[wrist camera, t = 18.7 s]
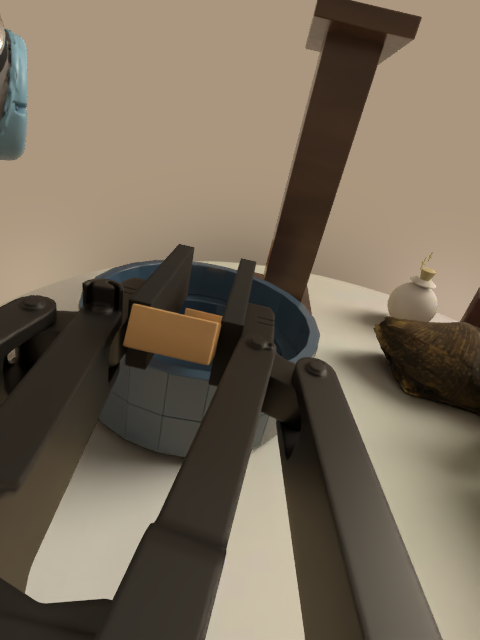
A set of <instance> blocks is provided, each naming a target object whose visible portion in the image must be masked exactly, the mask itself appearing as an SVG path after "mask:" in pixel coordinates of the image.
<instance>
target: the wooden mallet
mask: <svg viewBox="0 0 480 640" xmlns="http://www.w3.org/2000/svg"><path fill="white" fill-rule="evenodd" d="M222 317H223V316H219V315H215V314H210V313H206V312H202V311H197V310H193V309H189V308H186V309H185V314H184V315H182V314H178V313H174V312H169V311H165V310H161V309H156V308H152V307H148V306H143V305H139V304H133V305H132V309H131V313H130V318H129V322H128V326H127V330H126V334H125V339H124V343H123V346H125V347H129V348H133V349H137V350H142V351H146V352H151V353H155V354H159V355H164V356H168V357H172V358H177V359H181V360H185V361H190V362H194V363H198V364H203V365H209V364H210V362H211V361H212V360H213V358H214V357H215V354H216V349H217V345H218V340H219V335H220V330H221V320H222Z"/></svg>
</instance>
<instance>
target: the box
mask: <svg viewBox="0 0 480 640" xmlns="http://www.w3.org/2000/svg"><path fill="white" fill-rule="evenodd" d="M460 322H466V323H469V324H471V325H473V326H475V327H478V328H480V287H479V289H478V291H477V293H476V294H475V296H474V298H473V300H472V302H471V303H470V305H469V307H468V309H467V310H466V312H465V314H464V316H463V317H462V319H461V321H460Z"/></svg>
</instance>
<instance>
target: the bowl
mask: <svg viewBox="0 0 480 640" xmlns="http://www.w3.org/2000/svg"><path fill="white" fill-rule="evenodd" d="M163 261H164V260H154V261H145V262H136V263H131V264H127V265H123V266H119V267H116V268H112V269H110V270H108V271H106V272H104V273H102V274H100V275H98V276H96V277H95V278H94V279H101V278H102V279H110V280H114V281H117V282H119V283H122V282H123V281H124V280H127V279H130V278H133V277H136V278H140V279H145V280H147V279H148V278H149V277H150V276H151V274H152V273H153V272H154V271H155V270H156V269H157V268H158V267H159V266H160V265H161V263H162V262H163ZM236 273H237V270H234V269H231V268H227V267H222V266H217V265H212V264H207V263H201V262H192V267H191V274H190V281H189V288H188V294H187V298H186V300H185V301H184V303H183V305H182V307H181V308H180V310H179V312H178V314H182V315H184V314H185V309H186V308H189V309H193V310H197V311H202V312H206V313H210V314H215V315H219V316H223V314H224V311H225V308H226V305H227V301H228V298H229V295H230V292H231V289H232V286H233V283H234V280H235V276H236ZM248 303H252V304H256V305H261V306H265V307H269V308H271V309H272V311H273V312H274V314H275V321H274V322H275V323H274V344H275V345H276V349H277V350H276V352H277V353H278V354H279V355H280V356H282V357H283V358H285V359H287V360H288V361H291V362H293V363H295V364H296V362H297V361H298V360H299V359H300V358H304V357H312V358H314V357H315V354H316V352H317V348H318V343H319V337H320V333H319V330H318V327H317V324H316V321H315V319H314V317H313V316H312V315H311V314H310V312H309V311H308V310H307V309H306V307H305V306H304V305H303V304H302V303H300V302H299V301H298V300H297V299H295V298H294V297H293V296H292V295H290V294H289V293H287V292H285V291H284V290H282V289H280V288H278V287H277V286H275V285H273V284H271V283H270V282H267V281H265V280H262V279H260V278H258V277H255V276H253V281H252V286H251V291H250V296H249V302H248ZM82 306H83V291H82V295H81V298H80V301H79V305H78V310H79V309H80V308H81V307H82ZM125 355H126V353H125ZM125 355H124V356H123V358H122V359H121V360H120V372H119V374H118V376H117V379H116V381H115V383H114V385H113V387H112V390H111V392H110V394H109V396H108V398H107V401H106V403H105V405H104V407H103V409H102V412H101V414H100V416H99V418H98V419H99V420H100V421H101V422H102V423H103V424H105V425H106V426H107V427H109V428H110V429H111V430H113V431H114V432H116V433H117V434H118V435H120V436H121V437H122V438H124V439H125V440H127V441H130V442H132V443H135V444H137V445H140V446H142V447H145V448H147V449H150V450H152V451H155V452H158V453H163V454H169V455H176V456H182V457H186V455H187V452H188V450H189V448H190V446H191V444H192V442H193V439H194V437H195V435H196V433H197V431H198V428H199V426H200V424H201V422H202V420H203V418H204V415H205V413H206V411H207V409H208V407H209V404H210V402H211V400H212V398H213V396H214V394H215V391H216V389H217V386H213V385H209V384H208V383H209V378H210V373H211V368H212V364H213V360H212V361H211V362H210V364H209V365H203V364H198V363H194V362H190V361H185V360H181V359H177V358H172V357H168V356H164V355H159V354H154V355H153V357H152V359H151V361H150V362H149V364H148V366H147V368H146V369H145V370H143V369H139V368H135V367H130V366H126V365H125ZM213 359H214V358H213ZM276 421H277V420H276V419H274V418H272V417H270V416H268V415H266V414H264V413H262V412H261V413H260V417H259V421H258V425H257V429H256V433H255V437H254V441H253V445H252V449H253V448H256V447H258V446H261V445H262V444H264V443H265V442H267V441H268V440H270V439H271V438H273V437H274V436H276V435H277V428H276Z"/></svg>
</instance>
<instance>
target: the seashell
mask: <svg viewBox="0 0 480 640" xmlns="http://www.w3.org/2000/svg"><path fill="white" fill-rule="evenodd" d="M375 327H376V328H373V329H374V331H375V333H376V337H377V339H378V341H379V344H380V346H381V349H382V350H383V352H384V354H385V356H386V357H387V359H388V361H389V363H390V366H391V369H392V371H393V373H394V375H395V378H396V379H397V381H398V382H399V384H400V385H401V386H402V388H403V389H404V391H405V392H406V393H408V394H411V395H414V396H418V397H423V398H427V399H432V400H435V401H439V402H443V403H447V404H451V405H454V406H458V407H461V408H464V409H467V410H470V411H472V412H474V413H478V414H480V328H478V327H475V326H473V325H471V324H469V323H466V322H452V323H435V322H424V321H417V320H408V319H398V318H394V317H386V318H385V321H383V322H381V323H380V324H375Z"/></svg>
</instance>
